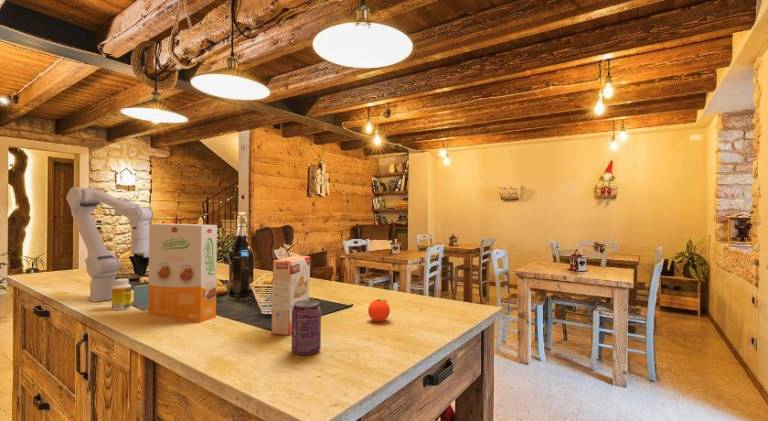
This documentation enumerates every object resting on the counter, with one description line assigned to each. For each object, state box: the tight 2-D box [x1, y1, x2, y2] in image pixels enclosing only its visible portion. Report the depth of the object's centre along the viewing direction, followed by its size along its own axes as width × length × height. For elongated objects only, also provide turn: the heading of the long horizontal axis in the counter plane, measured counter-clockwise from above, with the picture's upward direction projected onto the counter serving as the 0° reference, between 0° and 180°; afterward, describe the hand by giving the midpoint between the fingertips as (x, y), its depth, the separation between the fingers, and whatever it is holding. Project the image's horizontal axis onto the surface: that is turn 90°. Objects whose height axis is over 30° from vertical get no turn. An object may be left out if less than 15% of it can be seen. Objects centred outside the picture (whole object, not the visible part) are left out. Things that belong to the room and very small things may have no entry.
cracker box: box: [271, 255, 311, 336], centre depth 112 cm, size 14×6×21 cm, turn 168°
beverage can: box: [291, 299, 322, 356], centre depth 94 cm, size 7×7×12 cm
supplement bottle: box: [111, 278, 132, 311], centre depth 131 cm, size 6×6×10 cm
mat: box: [131, 302, 149, 311], centre depth 136 cm, size 11×9×1 cm
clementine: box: [367, 298, 391, 323], centre depth 120 cm, size 8×7×7 cm
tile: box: [133, 283, 149, 304], centre depth 140 cm, size 2×6×6 cm, turn 140°
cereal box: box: [148, 223, 218, 323], centre depth 123 cm, size 22×6×30 cm, turn 69°
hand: (139, 274), depth 142 cm, fingers open, 3 cm apart
